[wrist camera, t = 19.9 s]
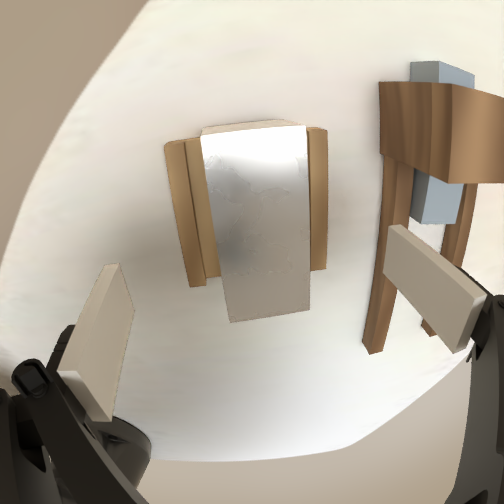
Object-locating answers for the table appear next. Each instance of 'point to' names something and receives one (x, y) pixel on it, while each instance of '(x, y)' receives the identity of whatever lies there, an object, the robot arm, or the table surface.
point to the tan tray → (199, 212)
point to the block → (260, 215)
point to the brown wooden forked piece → (431, 170)
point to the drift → (426, 186)
